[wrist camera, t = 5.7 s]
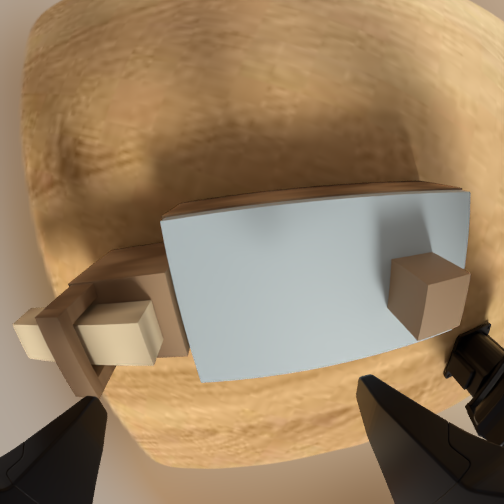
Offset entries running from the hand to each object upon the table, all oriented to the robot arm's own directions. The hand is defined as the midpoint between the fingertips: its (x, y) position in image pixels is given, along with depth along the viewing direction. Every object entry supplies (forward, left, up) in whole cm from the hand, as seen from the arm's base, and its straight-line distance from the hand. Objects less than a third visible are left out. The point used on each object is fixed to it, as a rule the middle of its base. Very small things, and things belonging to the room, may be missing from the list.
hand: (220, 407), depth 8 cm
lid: (-6, 0, -7) cm, 10 cm away
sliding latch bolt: (+8, 0, -6) cm, 10 cm away
